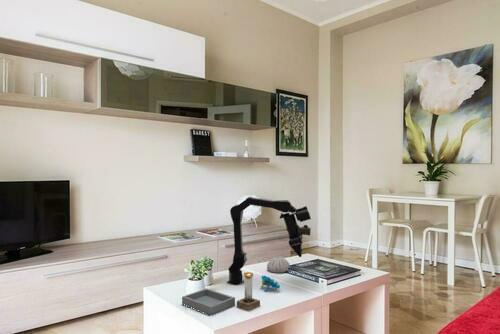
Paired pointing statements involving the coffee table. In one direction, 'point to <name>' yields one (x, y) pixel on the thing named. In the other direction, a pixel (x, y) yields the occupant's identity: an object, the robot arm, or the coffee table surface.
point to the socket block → (248, 304)
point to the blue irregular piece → (269, 283)
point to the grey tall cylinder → (248, 287)
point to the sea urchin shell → (278, 265)
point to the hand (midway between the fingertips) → (300, 254)
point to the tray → (208, 301)
